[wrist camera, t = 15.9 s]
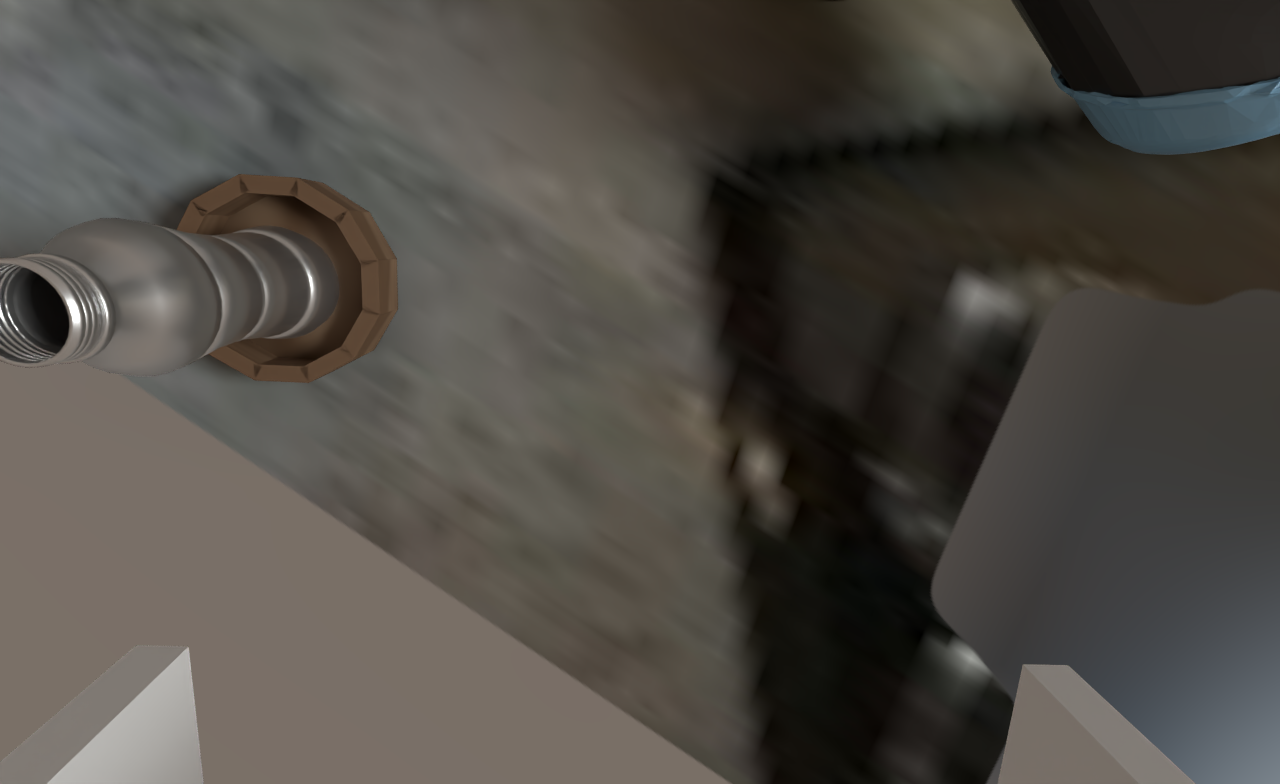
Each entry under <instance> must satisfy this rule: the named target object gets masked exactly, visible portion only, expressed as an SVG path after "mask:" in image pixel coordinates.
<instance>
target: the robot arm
mask: <svg viewBox="0 0 1280 784" xmlns="http://www.w3.org/2000/svg"><path fill="white" fill-rule="evenodd" d="M1011 1H1012V3H1013V4H1014V6H1015V8H1016V9H1017V11H1018V12H1019V14H1020V15H1021V17H1022V19H1023V20H1024V22H1025V23H1026V25H1027V26H1028V28H1029V30H1030V31H1031V33H1032V34H1033V36H1034V38H1035V39H1036V41H1037V42H1038V44H1039V45H1040V47H1041V49H1042V50H1043V52H1044V53H1045V55H1046V57H1047V58H1048V60H1049V61H1050V63H1051V64H1052V68H1051V74H1052V76H1053V78H1054V80H1055V82H1056V84H1057V85H1058V87H1059V88H1060V89H1061V90H1063V91H1064V92H1066V93H1067V94H1068V95H1070V96H1071V97H1073V98H1074V99H1075V101H1076V102H1077V103H1078V105H1079V106H1080V108H1081V109H1082V110H1083V112H1084V113H1085V115H1086V116H1087V117H1088V119H1089V120H1090V122H1091V123H1092V124H1093V126H1094V127H1095V129H1096V130H1097V131H1098V132H1099V133H1100V134H1101V136H1103V137H1104V138H1105V139H1107V140H1108V141H1109V142H1111V143H1114V144H1118V145H1120V146H1122V147H1124V148H1127V149H1130V150H1132V151H1134V152H1138V153H1146V154H1185V153H1195V152H1202V151H1208V150H1214V149H1219V148H1224V147H1229V146H1233V145H1237V144H1242V143H1246V142H1250V141H1254V140H1258V139H1262V138H1265V137H1268V136H1272V135H1275V134H1279V133H1280V0H1011ZM0 784H204V783H203V773H202V765H201V755H200V746H199V737H198V729H197V719H196V710H195V701H194V692H193V683H192V674H191V665H190V656H189V648H188V647H184V646H182V647H181V646H137V645H136V646H135V647H134V648H132V649H131V650H130V651H129V652H128V653H127V654H125V655H124V656H123V657H122V658H121V659H120V660H119V661H117V662H116V663H115V664H114V665H113V666H111V667H110V668H109V669H108V670H107V671H105V672H104V673H103V674H102V675H101V676H100V677H98V678H97V679H96V680H95V681H94V682H93V683H92V684H90V685H89V686H88V687H87V688H86V689H84V691H82V692H81V693H80V694H79V695H77V696H76V697H75V698H74V699H73V700H72V701H71V702H69V703H68V704H67V705H66V706H65V707H63V708H62V709H61V710H60V711H59V712H58V713H56V714H55V715H54V716H53V717H52V718H51V719H50V720H48V721H47V722H46V723H45V724H44V725H43V726H41V727H40V728H39V729H38V730H37V731H36V732H34V734H32V735H31V736H30V737H28V738H27V739H26V740H25V741H24V742H23V743H22V744H20V745H19V746H18V747H17V748H16V749H15V750H13V751H12V752H11V753H10V754H9V755H8V756H6V757H5V758H4V759H3V760H2V761H1V762H0ZM998 784H1195V783H1194V782H1193V781H1192V780H1191V779H1190V778H1189V777H1188V776H1187V775H1185V774H1184V773H1183V772H1182V771H1181V770H1180V769H1179V768H1178V767H1177V766H1176V765H1175V764H1174V763H1173V762H1172V761H1171V760H1169V759H1168V758H1167V757H1166V756H1165V755H1164V754H1163V753H1162V752H1161V751H1159V749H1158V748H1157V747H1155V746H1154V745H1153V744H1152V743H1151V742H1150V741H1149V740H1148V739H1147V738H1146V737H1145V736H1143V735H1142V734H1141V733H1140V732H1139V731H1138V730H1137V729H1136V728H1135V727H1134V726H1133V725H1132V724H1131V723H1130V722H1128V721H1127V720H1126V719H1125V718H1124V717H1123V716H1122V715H1121V714H1120V713H1119V712H1118V711H1116V709H1114V708H1113V707H1112V706H1111V705H1110V704H1109V703H1108V702H1107V701H1106V700H1105V699H1104V698H1103V697H1102V696H1100V695H1099V694H1098V693H1097V692H1096V691H1095V690H1094V689H1093V688H1092V687H1091V686H1090V685H1089V684H1088V683H1086V682H1085V681H1084V680H1083V679H1082V678H1081V677H1080V676H1079V675H1078V674H1077V673H1076V672H1075V671H1074V670H1072V669H1071V668H1070V667H1069V666H1068V665H1023V667H1022V672H1021V676H1020V681H1019V685H1018V690H1017V695H1016V700H1015V704H1014V709H1013V714H1012V718H1011V723H1010V728H1009V733H1008V737H1007V742H1006V747H1005V752H1004V756H1003V761H1002V766H1001V770H1000V775H999V780H998Z"/></svg>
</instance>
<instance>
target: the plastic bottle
mask: <svg viewBox="0 0 1280 784" xmlns="http://www.w3.org/2000/svg"><path fill="white" fill-rule="evenodd" d="M338 298H339V280H338V275H337V272H336V270H335V267H334V265H333V263H332V261H331V260H330V258H329V256H328V255H327V254H326V253H325V252H324V250H323V249H322V248H321V247H320V246H319V245H317V244H316V243H315V242H314V241H312V240H311V239H309V238H307V237H305V236H304V235H301V234H299V233H296V232H294V231H291V230H288V229H286V228H283V227H277V226H257V227H252V228H247V229H243V230H239V231H236V232H233V233H229V234H221V235H203V234H196V233H186V232H182V231H178V230H174V229H170V228H166V227H162V226H158V225H155V224H150V223H147V222H141V221H134V220H127V219H121V218H100V219H96V220H92V221H87V222H84V223H81V224H79V225H76V226H73V227H71V228H69V229H67V230H65V231H63V232H61V233H59V234H57V235H56V236H55V237H54V238H53V239H51V240H50V241H49V242H48V243H47V244H46V246H45V247H44V248H43V250H42V251H41V253H40V254H27V255H23V256H19V257H17V258H0V361H2V362H4V363H7V364H10V365H14V366H18V367H25V368H29V367H44V366H48V365H53V364H57V363H58V364H64V363H65V364H66V363H73V362H78V361H82V362H84V363H86V364H87V365H90V366H92V367H93V368H96V369H99V370H102V371H106V372H109V373H115V374H123V375H131V376H157V375H161V374H165V373H169V372H172V371H174V370H177V369H180V368H182V367H184V366H186V365H188V364H190V363H192V362H195V361H196V360H198V359H200V358H202V357H203V356H205V355H207V354H209V353H211V352H213V351H214V350H216V349H218V348H220V347H223V346H226V345H229V344H232V343H234V342H237V341H240V340H244V339H254V338H267V339H286V338H296V337H300V336H304V335H306V334H308V333H310V332H312V331H314V330H315V329H316V328H317V327H319V326H320V325H321V324H323V323H324V322H325V321H326V320H327V319H328V318H329V317H330V316H331V314H332V313H333V311H334V309H335V307H336V305H337V302H338Z"/></svg>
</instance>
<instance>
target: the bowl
mask: <svg viewBox="0 0 1280 784" xmlns="http://www.w3.org/2000/svg"><path fill="white" fill-rule="evenodd" d="M257 226H277V227H283V228H286V229H288V230H291V231H294V232H296V233H299V234H301V235H304V236H305V237H307V238H309V239H311V240H312V241H314V242H315V243H316V244H317V245H319V246H320V247H321V248H322V249H323V250H324V252H325V253H326V254H327V255H328V256H329V258H330V260H331V261H332V263H333V265H334V267H335V270H336V272H337V275H338V280H339V298H338V302H337V305H336V307H335V309H334V311H333V313H332V314H331V316H330V317H329V318H328V319H327V320H326V321H325V322H324V323H323V324H321V325H320V326H319V327H317V328H316V329H315V330H314V331H312V332H310V333H308V334H306V335H304V336H300V337H296V338H286V339H267V338H254V339H244V340H240V341H237V342H234V343H232V344H229V345H226V346H223V347H220V348H218V349H216V350H214V351H213V352H211V353H209V355H211V356H213V357H215V358H216V359H218V360H220V361H222V362H223V363H225V364H227V365H229V366H230V367H232V368H234V369H236V370H237V371H239V372H241V373H243V374H244V375H246V376H248V377H250V378H252V379H253V380H258V381H281V382H303V383H309V382H311V381H314V380H316V379H318V378H320V377H322V376H324V375H326V374H328V373H330V372H333V371H334V370H336V369H338V368H340V367H342V366H344V365H346V364H348V363H350V362H352V361H354V360H356V359H357V358H359V357H361V356H363V355H365V354H367V353H369V352H371V351H373V350H374V349H375V348H376V346H377V344H378V342H379V341H380V339H381V337H382V336H383V334H384V332H385V330H386V329H387V327H388V325H389V323H390V322H391V320H392V318H393V317H394V315H395V313H396V311H397V310H398V290H397V258H396V257H395V255H394V253H393V252H392V250H391V248H390V246H389V245H388V243H387V241H386V240H385V238H384V236H383V234H382V233H381V231H380V229H379V228H378V226H377V224H376V222H375V221H374V219H373V217H372V216H371V214H370V212H368V211H367V210H365V209H363V208H362V207H360V206H359V205H357V204H356V203H354V202H352V201H351V200H349V199H348V198H346V197H345V196H343V195H341V194H340V193H338V192H337V191H335V190H333V189H332V188H330V187H329V186H327V185H326V184H324V183H321V182H316V181H311V180H306V179H301V178H292V177H276V176H260V175H244V174H239V175H237V176H235V177H233V178H231V179H229V180H228V181H226V182H224V183H222V184H220V185H219V186H217V187H215V188H213V189H211V190H209V191H208V192H206V193H204V194H202V195H200V196H198V197H197V198H195V199H193V200H191V202H190V204H189V206H188V208H187V210H186V212H185V214H184V216H183V218H182V220H181V222H180V224H179V226H178V228H177V230H178V231H182V232H186V233H196V234H203V235H221V234H229V233H233V232H236V231H239V230H243V229H247V228H252V227H257Z"/></svg>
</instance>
